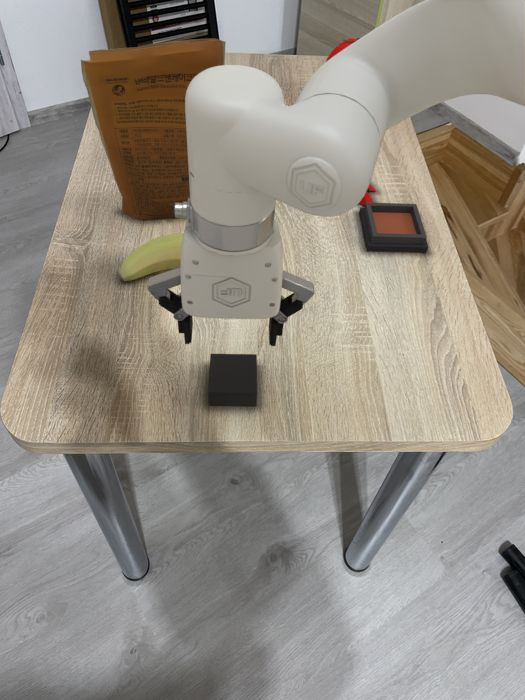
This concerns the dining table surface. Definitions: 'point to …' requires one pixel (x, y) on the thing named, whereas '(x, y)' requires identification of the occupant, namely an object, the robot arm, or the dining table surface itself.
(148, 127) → the pancake mix bag
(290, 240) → the dining table surface
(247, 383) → the black pad
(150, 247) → the banana
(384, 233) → the base pad
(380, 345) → the dining table surface
